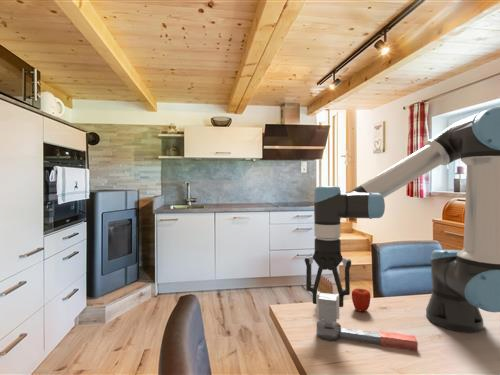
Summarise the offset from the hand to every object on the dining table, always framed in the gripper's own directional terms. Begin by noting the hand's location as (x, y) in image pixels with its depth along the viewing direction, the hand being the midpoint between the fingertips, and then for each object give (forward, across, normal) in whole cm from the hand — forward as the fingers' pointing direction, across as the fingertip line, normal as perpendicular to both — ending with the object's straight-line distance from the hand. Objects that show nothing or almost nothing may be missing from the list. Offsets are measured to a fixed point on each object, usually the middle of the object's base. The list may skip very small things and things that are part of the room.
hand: (328, 315), depth 85 cm
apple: (+6, -10, -21) cm, 24 cm away
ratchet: (+6, -10, 0) cm, 11 cm away
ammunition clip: (+6, +2, -17) cm, 18 cm away
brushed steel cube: (0, 0, 0) cm, 0 cm away
